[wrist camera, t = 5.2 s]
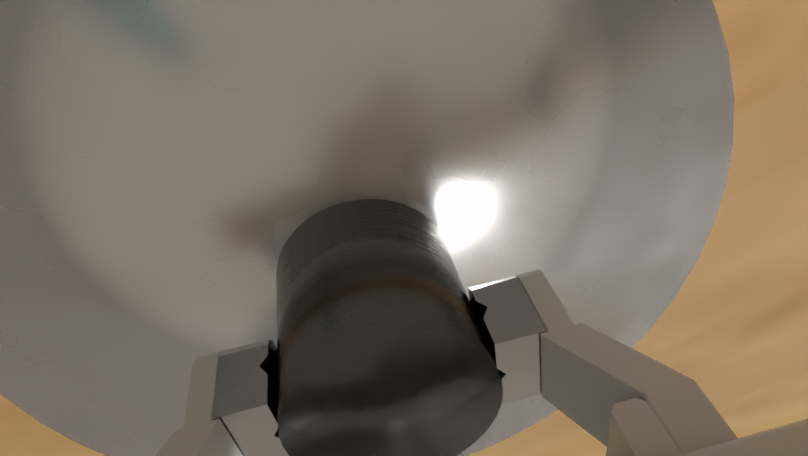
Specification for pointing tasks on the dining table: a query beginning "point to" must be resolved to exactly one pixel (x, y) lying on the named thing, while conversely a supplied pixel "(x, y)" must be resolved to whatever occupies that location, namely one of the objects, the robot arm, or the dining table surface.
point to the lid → (339, 201)
